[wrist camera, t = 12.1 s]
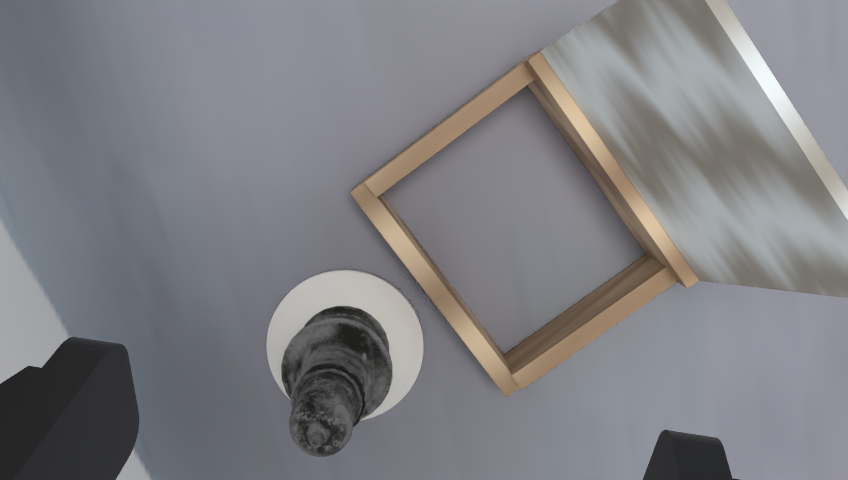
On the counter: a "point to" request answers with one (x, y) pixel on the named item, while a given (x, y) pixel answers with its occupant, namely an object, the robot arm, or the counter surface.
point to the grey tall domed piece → (335, 377)
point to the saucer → (357, 293)
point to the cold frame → (654, 171)
